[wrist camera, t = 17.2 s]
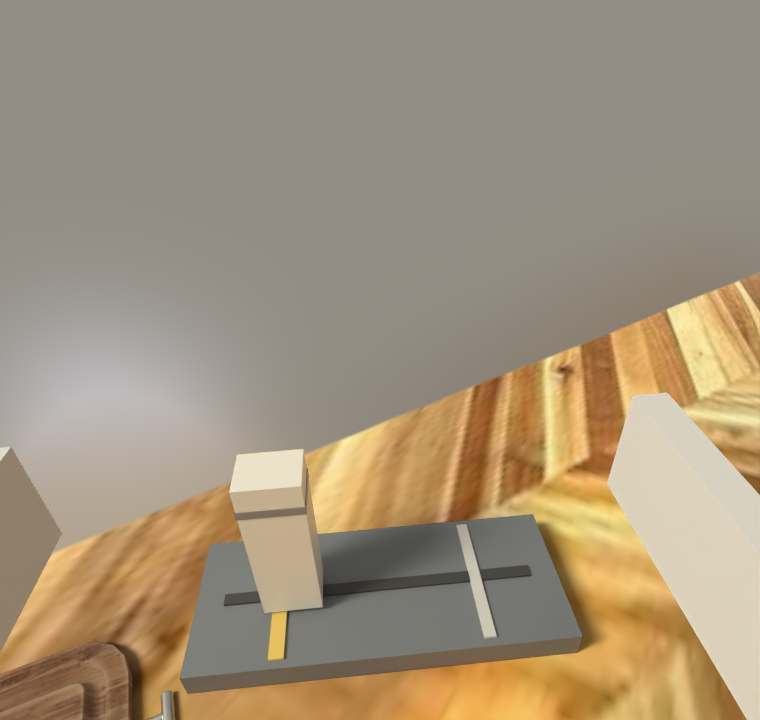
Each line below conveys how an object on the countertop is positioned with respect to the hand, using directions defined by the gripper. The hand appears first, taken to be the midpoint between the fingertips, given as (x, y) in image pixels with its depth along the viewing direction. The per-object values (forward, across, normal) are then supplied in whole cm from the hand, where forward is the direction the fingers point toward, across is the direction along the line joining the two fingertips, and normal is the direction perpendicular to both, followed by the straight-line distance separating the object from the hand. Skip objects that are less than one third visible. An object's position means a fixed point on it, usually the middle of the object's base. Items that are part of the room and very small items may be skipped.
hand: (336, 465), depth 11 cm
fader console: (+14, +1, -28) cm, 31 cm away
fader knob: (+14, -5, -26) cm, 29 cm away
